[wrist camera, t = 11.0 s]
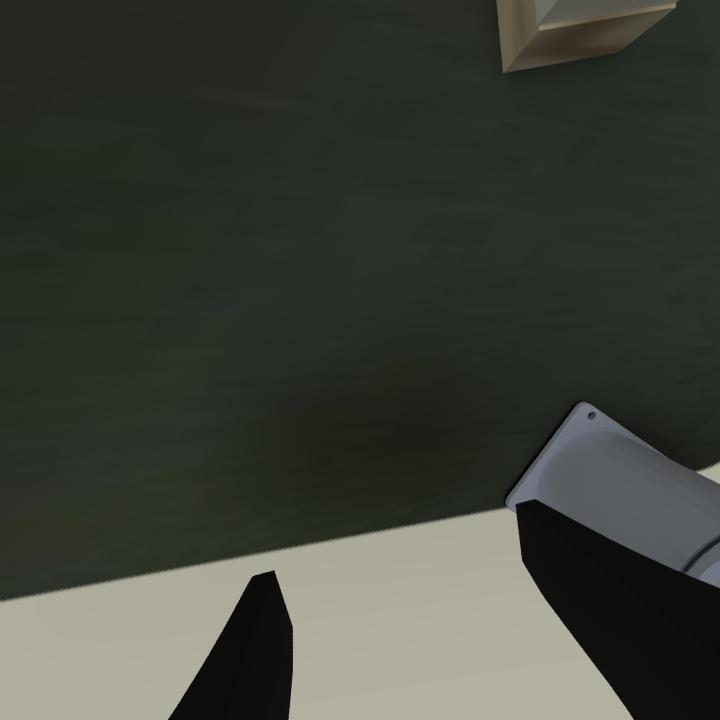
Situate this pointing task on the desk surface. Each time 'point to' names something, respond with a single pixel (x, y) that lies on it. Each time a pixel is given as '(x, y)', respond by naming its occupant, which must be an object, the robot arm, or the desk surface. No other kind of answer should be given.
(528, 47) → the lower block
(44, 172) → the desk surface
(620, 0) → the upper block
